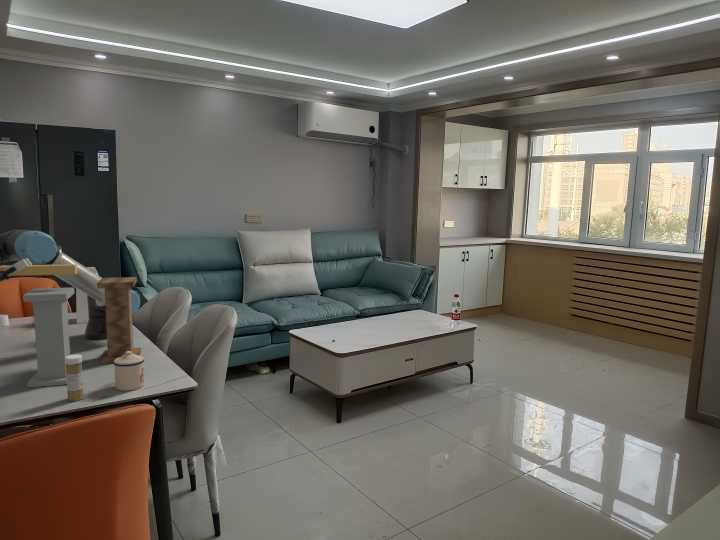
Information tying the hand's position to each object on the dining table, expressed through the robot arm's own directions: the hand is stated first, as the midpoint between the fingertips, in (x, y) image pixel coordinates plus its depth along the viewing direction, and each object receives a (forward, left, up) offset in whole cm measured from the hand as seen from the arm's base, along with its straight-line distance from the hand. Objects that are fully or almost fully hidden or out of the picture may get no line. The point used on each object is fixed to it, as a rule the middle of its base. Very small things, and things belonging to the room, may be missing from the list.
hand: (27, 262), depth 172 cm
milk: (-61, -56, -39) cm, 92 cm away
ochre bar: (-2, +2, -4) cm, 5 cm away
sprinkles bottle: (+6, +30, -39) cm, 50 cm away
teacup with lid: (-10, +34, -39) cm, 53 cm away
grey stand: (-2, +8, -39) cm, 40 cm away
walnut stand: (-28, +7, -39) cm, 49 cm away
